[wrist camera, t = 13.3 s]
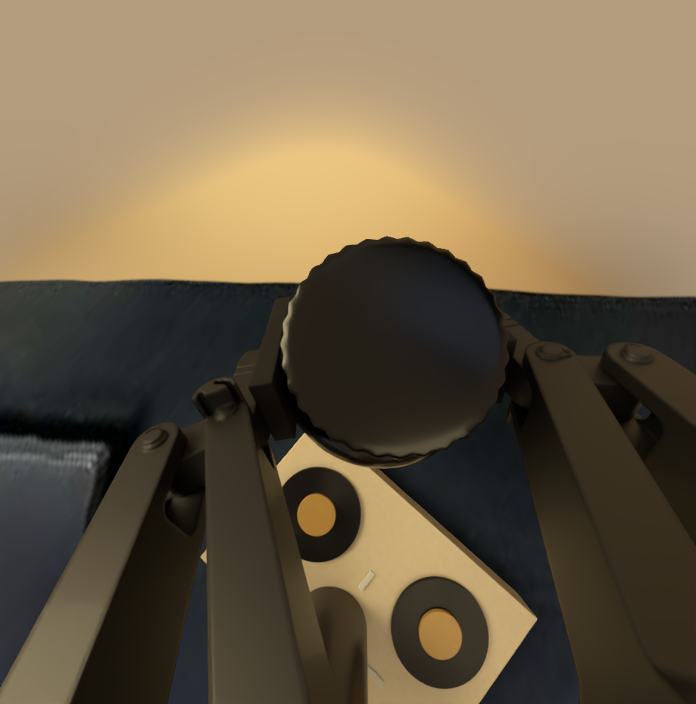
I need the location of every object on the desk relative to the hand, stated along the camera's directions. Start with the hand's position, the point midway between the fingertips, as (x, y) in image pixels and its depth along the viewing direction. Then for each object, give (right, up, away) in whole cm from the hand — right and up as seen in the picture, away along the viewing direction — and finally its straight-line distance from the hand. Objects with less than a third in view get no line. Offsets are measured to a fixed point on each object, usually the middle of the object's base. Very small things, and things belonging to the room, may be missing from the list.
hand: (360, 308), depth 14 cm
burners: (+1, -18, +5) cm, 18 cm away
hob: (0, -19, +7) cm, 20 cm away
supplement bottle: (+1, -4, +3) cm, 5 cm away
